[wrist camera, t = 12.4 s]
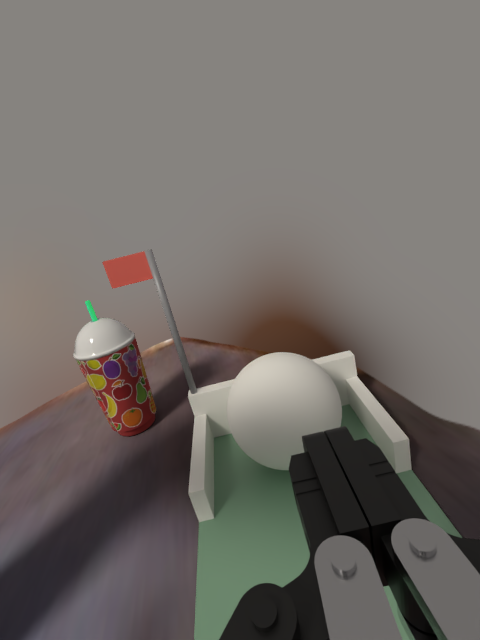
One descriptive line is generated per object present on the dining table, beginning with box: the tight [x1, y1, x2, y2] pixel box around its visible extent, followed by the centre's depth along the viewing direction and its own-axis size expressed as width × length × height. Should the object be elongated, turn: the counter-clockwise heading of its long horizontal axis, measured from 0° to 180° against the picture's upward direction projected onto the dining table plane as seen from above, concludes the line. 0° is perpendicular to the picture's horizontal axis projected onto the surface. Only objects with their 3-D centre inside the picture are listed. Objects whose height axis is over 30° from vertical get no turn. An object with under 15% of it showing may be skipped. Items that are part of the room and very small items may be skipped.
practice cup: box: [103, 250, 462, 640], centre depth 28 cm, size 25×30×25 cm
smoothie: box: [73, 300, 156, 436], centre depth 49 cm, size 8×8×20 cm
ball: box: [227, 352, 342, 470], centre depth 37 cm, size 12×12×12 cm
